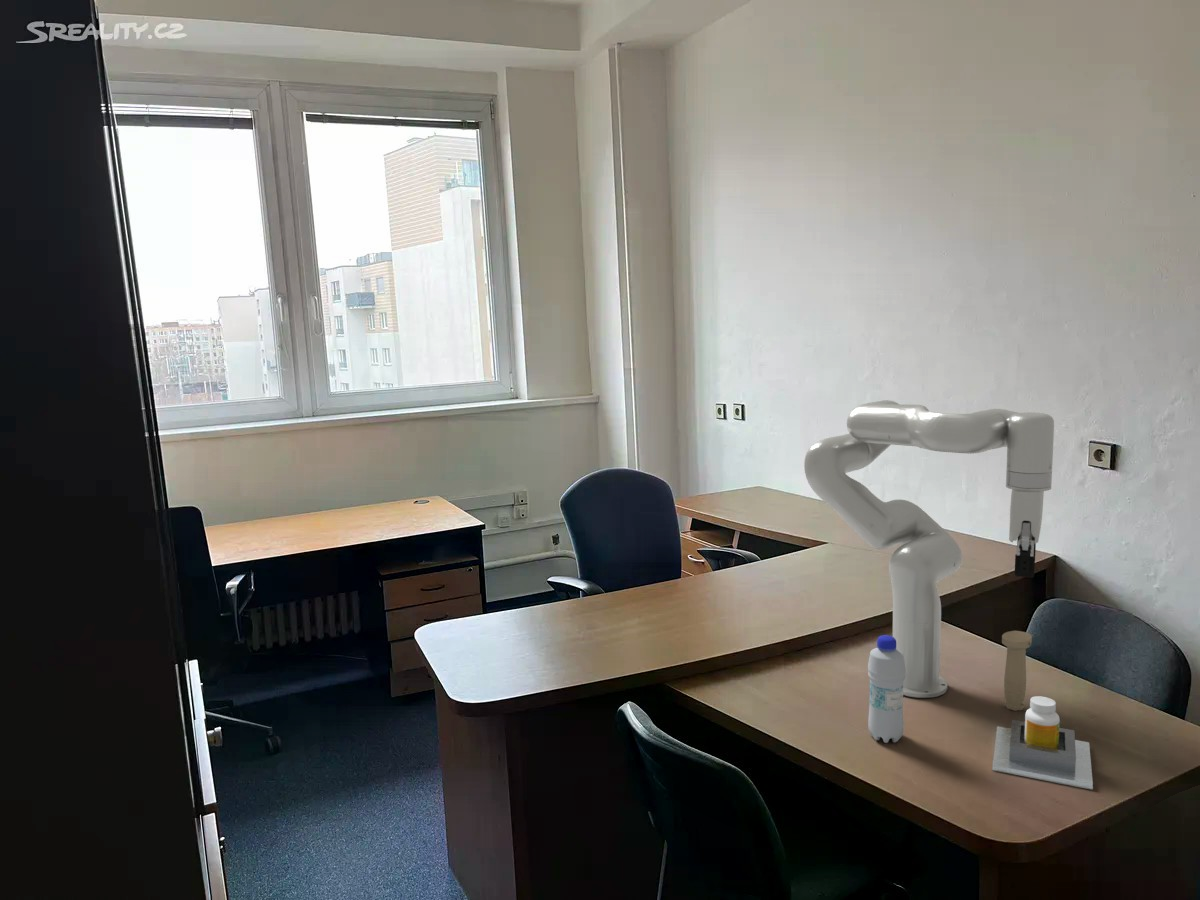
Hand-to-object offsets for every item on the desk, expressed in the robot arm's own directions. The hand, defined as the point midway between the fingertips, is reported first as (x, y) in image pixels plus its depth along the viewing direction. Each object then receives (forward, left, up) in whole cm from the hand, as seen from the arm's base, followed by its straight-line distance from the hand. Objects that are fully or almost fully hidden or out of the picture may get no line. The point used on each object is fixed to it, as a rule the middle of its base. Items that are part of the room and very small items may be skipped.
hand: (1025, 569), depth 157 cm
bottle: (-22, -17, -31) cm, 41 cm away
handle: (-1, +5, -31) cm, 31 cm away
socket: (+4, -14, -30) cm, 34 cm away
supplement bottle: (+4, -14, -30) cm, 33 cm away
